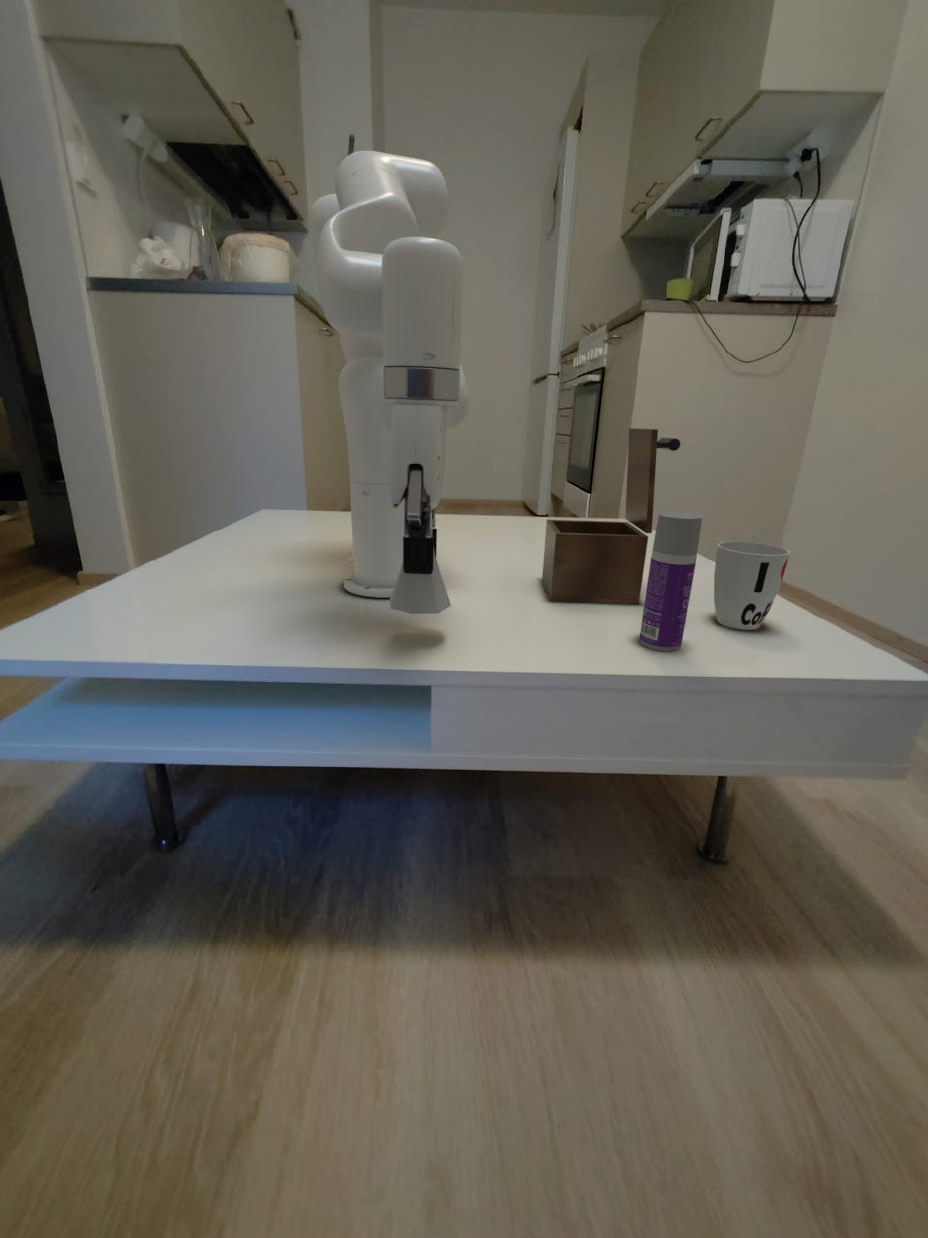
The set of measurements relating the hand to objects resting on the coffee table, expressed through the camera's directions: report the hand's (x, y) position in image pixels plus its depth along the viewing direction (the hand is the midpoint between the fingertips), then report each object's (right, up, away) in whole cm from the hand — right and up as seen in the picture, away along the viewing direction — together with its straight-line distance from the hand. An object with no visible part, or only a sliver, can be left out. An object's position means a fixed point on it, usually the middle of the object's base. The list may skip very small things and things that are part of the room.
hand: (420, 566), depth 61 cm
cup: (+41, -7, +11) cm, 43 cm away
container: (+28, -9, +3) cm, 29 cm away
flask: (0, -5, +2) cm, 5 cm away
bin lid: (+30, +14, +17) cm, 37 cm away
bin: (+24, -2, +22) cm, 33 cm away
